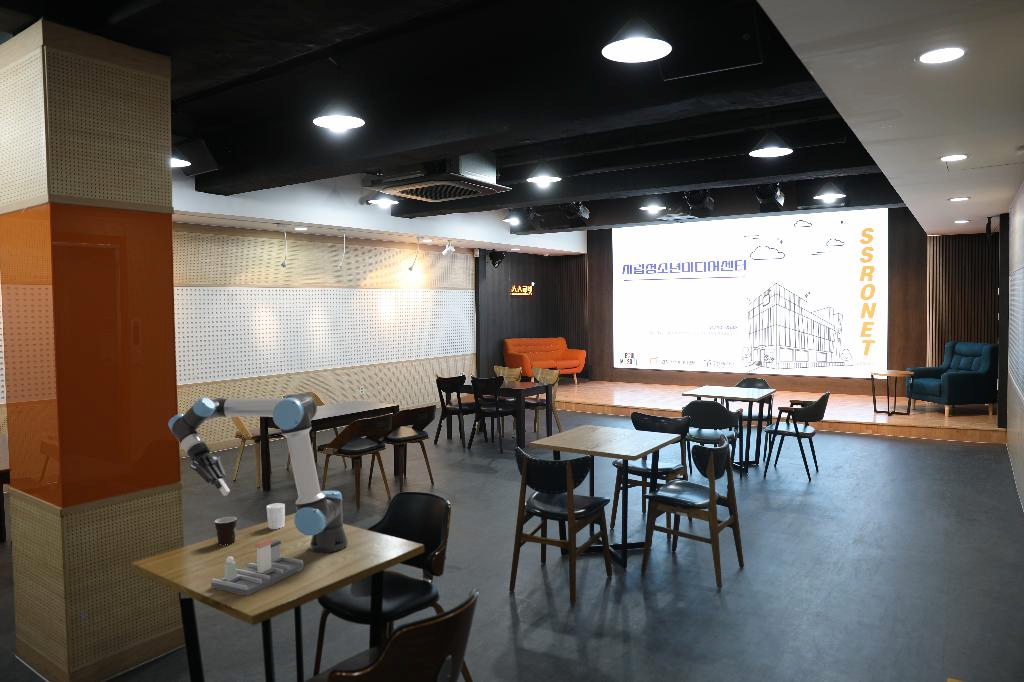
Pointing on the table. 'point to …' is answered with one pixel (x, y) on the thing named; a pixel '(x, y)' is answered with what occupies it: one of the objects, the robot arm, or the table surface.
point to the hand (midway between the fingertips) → (227, 493)
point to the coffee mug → (226, 530)
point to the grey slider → (275, 551)
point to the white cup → (276, 515)
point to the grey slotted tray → (259, 576)
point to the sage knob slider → (230, 570)
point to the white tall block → (264, 557)
